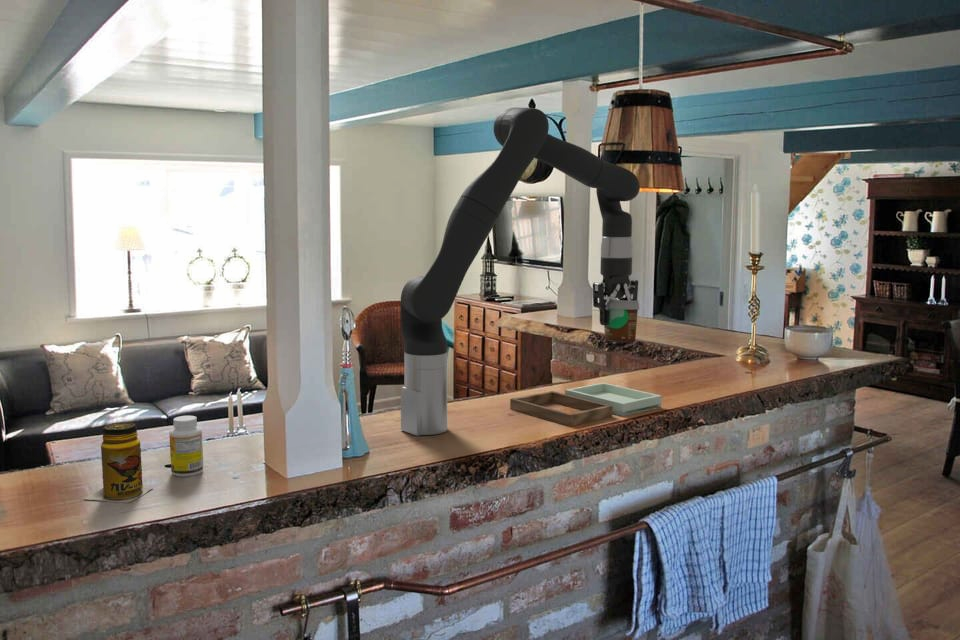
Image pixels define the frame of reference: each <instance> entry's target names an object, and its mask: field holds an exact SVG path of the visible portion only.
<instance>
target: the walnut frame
mask: <svg viewBox="0 0 960 640" xmlns="http://www.w3.org/2000/svg"><path fill="white" fill-rule="evenodd" d="M509 401H510V402H509V403H510V405H509V407H510V408H509V410H511V411H516V412H519V413H523V414H526V415H529V416H533V417H537V418H540V419H542V420H547V421H551V422H553V423H558V424H560V425H563V426H568V427H573V426H578V425H581V424H586V423H591V422H594V421H599V420H604V419H607V418H612V417H613V414H612V407H613V406H610V405H606V404H602V403H598V402H594V401H590V400H586V399H582V398H578V397H574V396H570V395H566V394H565V393H563V392H558V391H554V390H551V391H546V392H545V391H544V392H540V393H536V394H535V393H534V394H528V395H523V396H518V397H514V398H510V399H509ZM550 403H554V404H559V405H561V406H562V405H563V406H565V407H568V408H573V409H576V410H580V411H577V412H572V413H569V412H565V411H562V410H558V409H553V408H550V407H547V406H542V405H545V404H550Z"/></svg>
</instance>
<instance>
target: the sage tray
mask: <svg viewBox="0 0 960 640" xmlns="http://www.w3.org/2000/svg"><path fill="white" fill-rule="evenodd" d="M564 394H566V395H570V396H574V397H578V398H582V399H586V400H590V401H594V402H598V403H602V404H606V405H610V406H613V407H612V415H615V416H619V417H627V416H631V415H635V414H640V413H645V412H649V411H652V410H651V409H653V410H655V409H654V408H658V409H660V408H659V407H661V408H662V395H661V394H655V393H652V392H646V391H642V390H639V389H633V388H630V387H625V386H620V385H616V384H611V383H607V382H599V383H593V384H590V385H583V386H579V387H571V388H567V389H565V390H564ZM648 410H649V411H648Z"/></svg>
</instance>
